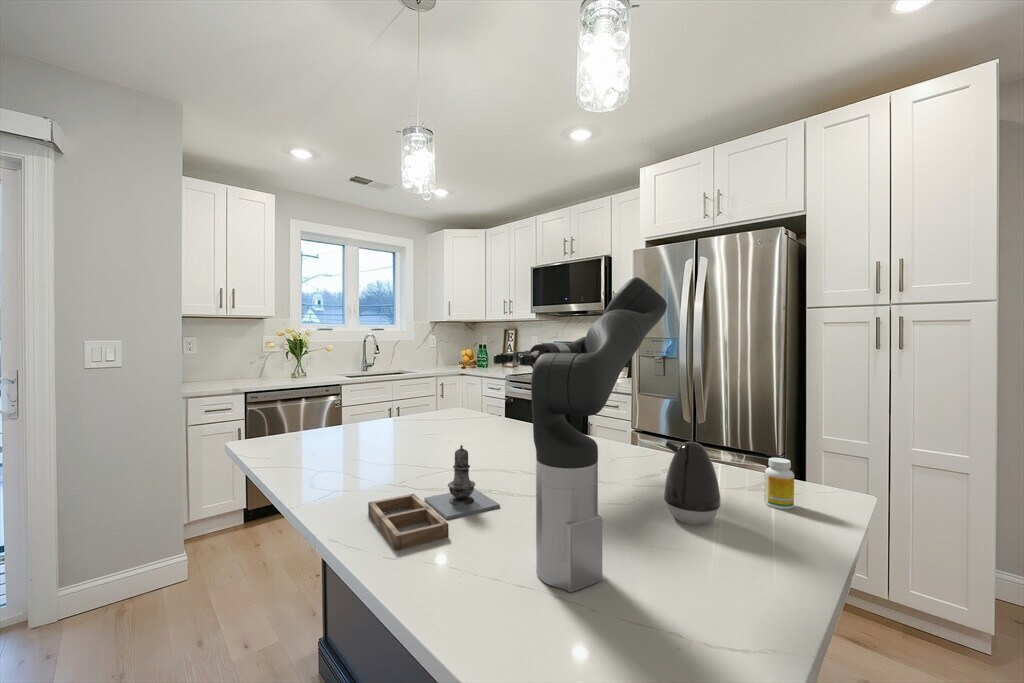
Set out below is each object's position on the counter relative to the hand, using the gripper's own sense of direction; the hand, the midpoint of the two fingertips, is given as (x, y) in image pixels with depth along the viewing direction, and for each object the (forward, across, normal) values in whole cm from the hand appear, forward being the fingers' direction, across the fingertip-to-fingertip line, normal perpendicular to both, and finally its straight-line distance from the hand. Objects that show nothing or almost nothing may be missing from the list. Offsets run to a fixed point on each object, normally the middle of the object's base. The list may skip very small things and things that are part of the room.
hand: (507, 360), depth 107 cm
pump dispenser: (-11, +39, +30) cm, 50 cm away
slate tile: (+14, 0, +30) cm, 33 cm away
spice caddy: (+28, 0, +30) cm, 41 cm away
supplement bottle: (-31, +49, +30) cm, 66 cm away
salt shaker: (+14, 0, +30) cm, 33 cm away
